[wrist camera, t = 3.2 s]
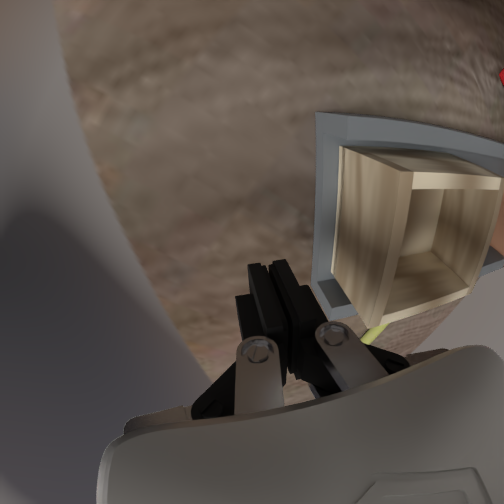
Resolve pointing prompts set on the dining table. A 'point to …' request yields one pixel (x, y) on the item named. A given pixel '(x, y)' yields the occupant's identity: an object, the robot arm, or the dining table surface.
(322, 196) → the rail bay
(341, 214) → the crate
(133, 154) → the dining table surface
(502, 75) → the toy figure
